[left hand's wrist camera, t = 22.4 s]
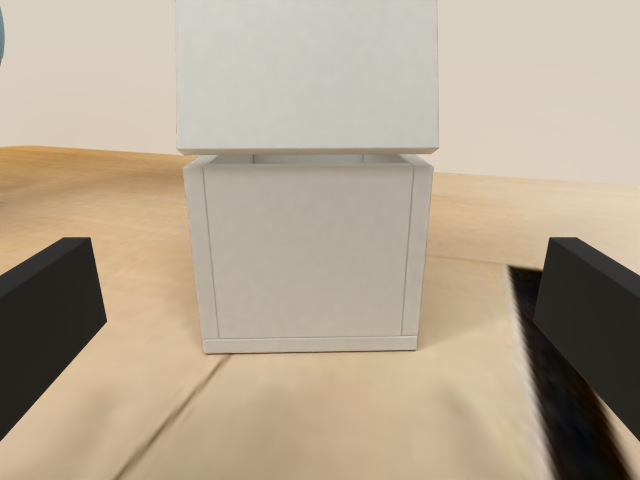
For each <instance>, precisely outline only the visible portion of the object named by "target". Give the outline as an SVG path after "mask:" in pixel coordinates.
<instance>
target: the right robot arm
mask: <svg viewBox="0 0 640 480" xmlns="http://www.w3.org/2000/svg"><path fill="white" fill-rule="evenodd" d="M4 42H5V36H4V24H3V17H2V12H1V8H0V64H1V60H2V58H3V53H4Z"/></svg>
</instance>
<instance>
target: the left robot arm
mask: <svg viewBox="0 0 640 480" xmlns="http://www.w3.org/2000/svg"><path fill="white" fill-rule="evenodd" d="M106 322H107V318H106V313H105V308H104V303H103V298H102V293H101V288H100V283H99V278H98V273H97V268H96V263H95V258H94V253H93V248H92V243H91V238H90V237H63V238H62V239H60V240H59V241H57V242H55V243H54V244H52V245H50V246H49V247H47V248H45V249H44V250H42V251H40V252H39V253H37V254H35V255H34V256H32V257H30V258H29V259H27V260H25V261H24V262H22V263H20V264H19V265H17V266H16V267H14V268H12V269H11V270H9V271H7V272H6V273H4V274H2V275H1V276H0V441H1V440H2V439H3V438H4V437H5V436H6V435H7V433H8V432H9V431H10V430H11V429H12V428H13V427H14V426H15V424H16V423H17V422H18V421H19V420H20V419H21V418H22V417H23V415H24V414H25V413H26V412H27V411H28V410H29V409H30V408H31V406H32V405H33V404H34V403H35V402H36V401H37V400H38V399H39V397H40V396H41V395H42V394H43V393H44V392H45V391H46V390H47V388H48V387H49V386H50V385H51V384H52V383H53V382H54V381H55V379H56V378H57V377H58V376H59V375H60V374H61V373H62V372H63V371H64V369H65V368H66V367H67V366H68V365H69V364H70V363H71V362H72V360H73V359H74V358H75V357H76V356H77V355H78V354H79V353H80V351H81V350H82V349H83V348H84V347H85V346H86V345H87V344H88V342H89V341H90V340H91V339H92V338H93V337H94V336H95V335H96V333H97V332H98V331H99V330H100V329H101V328H102V327H103V326H104V324H105V323H106ZM533 322H534V323H535V324H536V326H537V327H538V328H539V329H540V330H541V331H542V332H543V333H544V335H545V336H546V337H547V338H548V339H549V340H550V341H551V342H552V344H553V345H554V346H555V347H556V348H557V349H558V350H559V351H560V353H561V354H562V355H563V356H564V357H565V358H566V359H567V360H568V362H569V363H570V364H571V365H572V366H573V367H574V368H575V369H576V371H577V372H578V373H579V374H580V375H581V376H582V377H583V378H584V379H585V381H586V382H587V383H588V384H589V385H590V386H591V387H592V388H593V390H594V391H595V392H596V393H597V394H598V395H599V396H600V397H601V399H602V400H603V401H604V402H605V403H606V404H607V405H608V406H609V408H610V409H611V410H612V411H613V412H614V413H615V414H616V415H617V417H618V418H619V419H620V420H621V421H622V422H623V423H624V424H625V426H626V427H627V428H628V429H629V430H630V431H631V432H632V433H633V435H634V436H635V437H636V438H637V439H638V440H639V441H640V276H639V275H638V274H636V273H634V272H633V271H631V270H629V269H628V268H626V267H624V266H623V265H621V264H620V263H618V262H616V261H615V260H613V259H611V258H610V257H608V256H606V255H605V254H603V253H601V252H600V251H598V250H596V249H595V248H593V247H591V246H590V245H588V244H586V243H585V242H583V241H581V240H580V239H578V238H577V237H550V238H549V243H548V248H547V253H546V258H545V263H544V268H543V273H542V278H541V283H540V288H539V293H538V298H537V303H536V308H535V313H534V318H533Z"/></svg>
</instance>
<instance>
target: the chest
mask: <svg viewBox="0 0 640 480" xmlns="http://www.w3.org/2000/svg"><path fill="white" fill-rule="evenodd" d="M433 169H434V168H433V166H432V165H430V164H429V163H427V162H426V161H424V160H423V159H421V158H420V157H418V156H417V155H415V154H346V155H201V156H199V157H198V158H196V159H195V160H193V161H192V162H190V163H189V164H188V165H186V166H185V167H183V178H184V187H185V196H186V205H187V214H188V223H189V231H190V240H191V249H192V258H193V267H194V276H195V285H196V293H197V302H198V311H199V320H200V329H201V338H202V344H203V352H204V353H205V354H211V353H268V352H326V351H384V350H416V349H417V342H418V332H419V321H420V310H421V299H422V288H423V278H424V267H425V256H426V245H427V234H428V223H429V212H430V201H431V190H432V180H433Z"/></svg>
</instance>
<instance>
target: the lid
mask: <svg viewBox="0 0 640 480" xmlns="http://www.w3.org/2000/svg"><path fill="white" fill-rule="evenodd" d="M175 3H176V134H177V150H178V151H180V152H181V153H182V154H184V155H346V154H432V153H433V152H435V151H436V150H437V149H438V148H439V102H438V27H437V0H176V2H175Z"/></svg>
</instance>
